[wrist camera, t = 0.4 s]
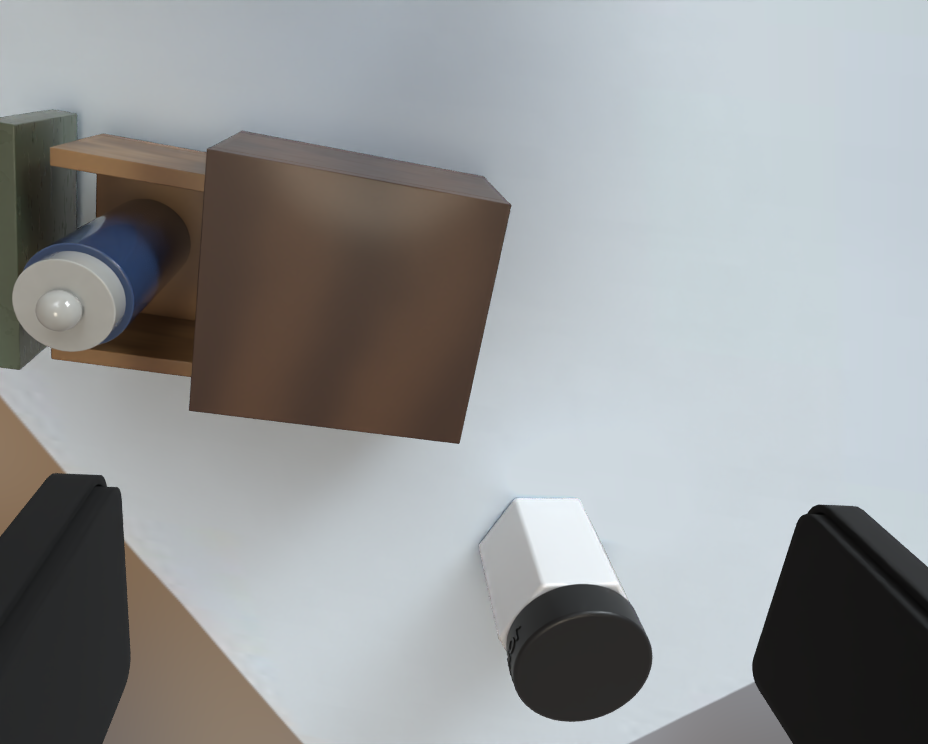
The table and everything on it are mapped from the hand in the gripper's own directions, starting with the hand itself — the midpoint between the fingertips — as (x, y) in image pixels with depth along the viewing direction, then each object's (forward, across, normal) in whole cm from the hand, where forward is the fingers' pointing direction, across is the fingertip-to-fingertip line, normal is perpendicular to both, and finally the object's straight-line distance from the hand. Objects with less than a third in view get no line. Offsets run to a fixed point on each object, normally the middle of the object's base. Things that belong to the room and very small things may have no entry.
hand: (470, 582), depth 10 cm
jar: (+36, -12, +23) cm, 44 cm away
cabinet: (+35, +2, +4) cm, 35 cm away
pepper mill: (+33, +13, +3) cm, 36 cm away
